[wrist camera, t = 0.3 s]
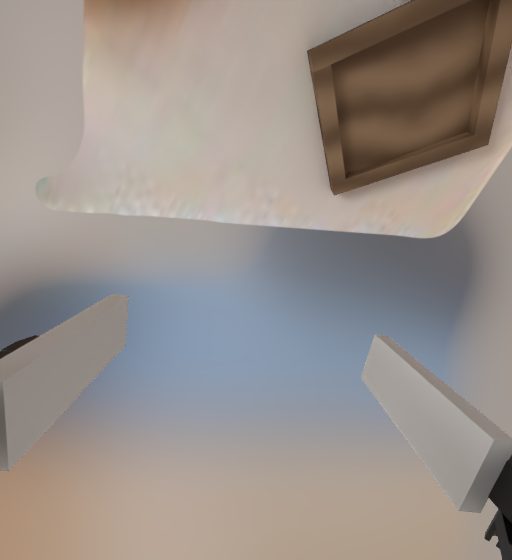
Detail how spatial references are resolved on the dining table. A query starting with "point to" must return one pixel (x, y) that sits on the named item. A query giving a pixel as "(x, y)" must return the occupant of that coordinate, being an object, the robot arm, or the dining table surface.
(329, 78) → the walnut tray
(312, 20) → the dining table surface
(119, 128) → the dining table surface
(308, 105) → the dining table surface
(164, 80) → the dining table surface
